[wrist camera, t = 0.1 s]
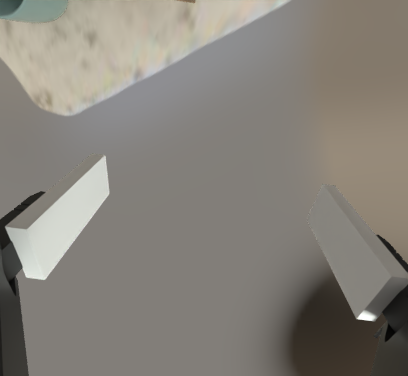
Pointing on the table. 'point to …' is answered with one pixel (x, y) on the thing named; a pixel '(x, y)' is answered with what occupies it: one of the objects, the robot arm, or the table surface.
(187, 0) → the box with square hole
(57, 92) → the table surface
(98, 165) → the robot arm
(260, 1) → the table surface
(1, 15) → the cup
